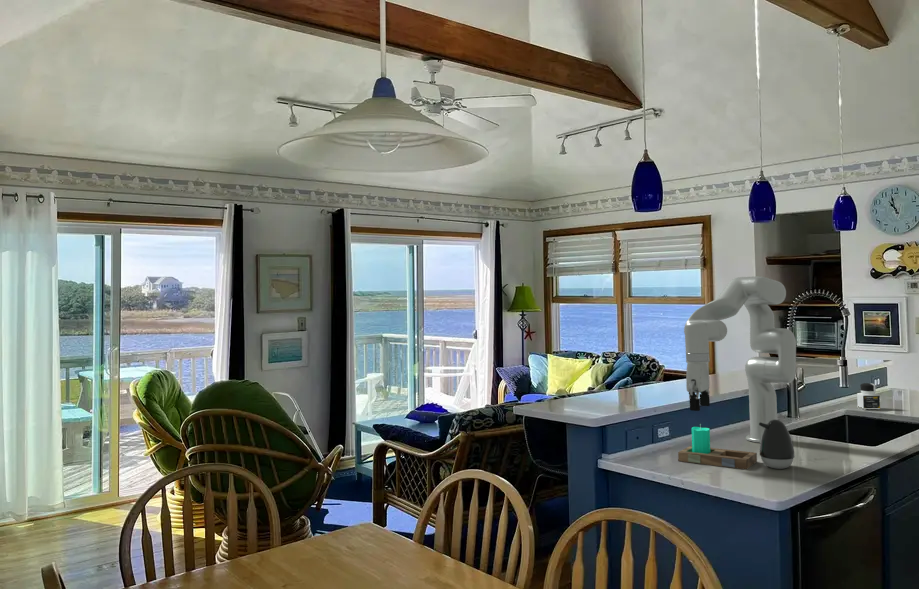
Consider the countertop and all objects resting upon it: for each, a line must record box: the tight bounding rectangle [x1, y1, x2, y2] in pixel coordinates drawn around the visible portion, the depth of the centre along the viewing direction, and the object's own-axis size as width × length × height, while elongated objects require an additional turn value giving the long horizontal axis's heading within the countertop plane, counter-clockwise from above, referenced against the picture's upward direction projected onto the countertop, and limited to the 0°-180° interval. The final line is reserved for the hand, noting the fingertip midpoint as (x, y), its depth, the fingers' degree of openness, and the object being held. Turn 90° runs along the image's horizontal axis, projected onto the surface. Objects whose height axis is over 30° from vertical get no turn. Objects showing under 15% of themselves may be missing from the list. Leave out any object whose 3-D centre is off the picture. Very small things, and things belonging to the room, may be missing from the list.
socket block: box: [677, 445, 758, 470], centre depth 228 cm, size 12×22×3 cm, turn 52°
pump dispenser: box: [759, 419, 796, 470], centre depth 219 cm, size 10×10×15 cm
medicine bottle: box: [856, 382, 881, 409], centre depth 319 cm, size 7×7×12 cm
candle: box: [691, 423, 711, 454], centre depth 232 cm, size 6×6×12 cm
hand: (700, 408), depth 233 cm, fingers open, 9 cm apart
